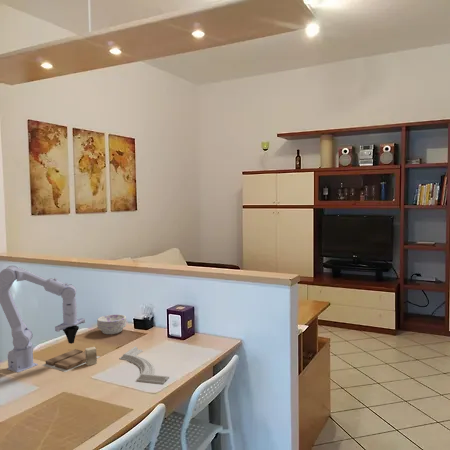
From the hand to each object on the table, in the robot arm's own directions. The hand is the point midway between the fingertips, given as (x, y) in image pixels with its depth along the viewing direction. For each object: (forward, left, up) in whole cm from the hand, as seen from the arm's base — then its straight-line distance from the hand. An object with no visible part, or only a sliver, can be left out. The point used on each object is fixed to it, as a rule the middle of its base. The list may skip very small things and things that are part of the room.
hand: (71, 342), depth 189 cm
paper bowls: (+39, +16, -9) cm, 43 cm away
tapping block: (+3, -9, -5) cm, 10 cm away
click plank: (0, -3, -8) cm, 8 cm away
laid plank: (0, +5, -8) cm, 9 cm away
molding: (+12, -33, -9) cm, 36 cm away
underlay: (0, 0, -8) cm, 8 cm away
